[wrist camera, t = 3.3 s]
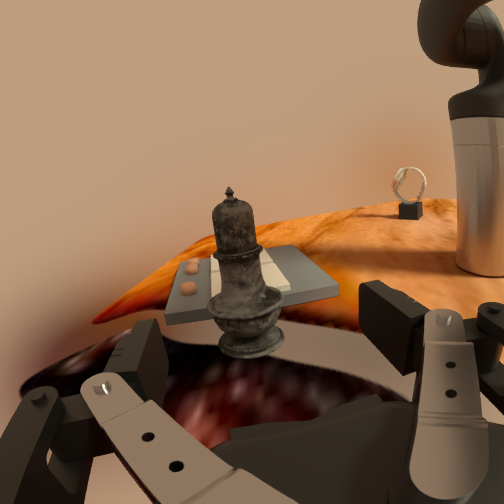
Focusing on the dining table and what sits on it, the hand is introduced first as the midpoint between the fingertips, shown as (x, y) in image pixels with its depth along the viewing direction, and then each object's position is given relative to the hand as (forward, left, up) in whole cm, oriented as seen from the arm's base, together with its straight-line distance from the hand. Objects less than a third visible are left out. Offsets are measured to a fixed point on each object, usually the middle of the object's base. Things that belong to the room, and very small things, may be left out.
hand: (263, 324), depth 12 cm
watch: (-40, -46, -7) cm, 62 cm away
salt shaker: (0, -11, -7) cm, 14 cm away
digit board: (-1, -25, -7) cm, 26 cm away
